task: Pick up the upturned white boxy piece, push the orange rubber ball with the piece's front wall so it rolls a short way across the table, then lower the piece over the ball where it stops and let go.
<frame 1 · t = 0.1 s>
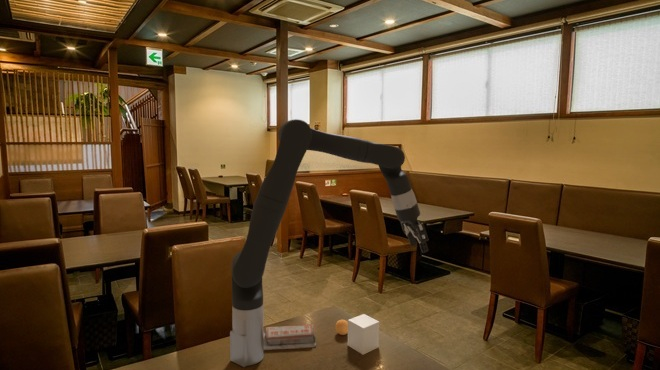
hand: (419, 248, 132), 31 cm above the table, tool tilted 20°, fingers open, 8 cm apart
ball: (342, 327, 137), on the table
white boxy piece: (363, 346, 129), on the table
packaged product: (288, 343, 132), on the table
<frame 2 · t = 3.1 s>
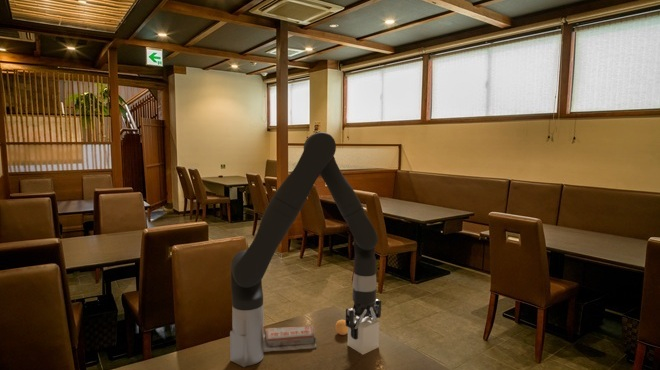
hand: (363, 334, 128), 4 cm above the table, tool pointing down, fingers closed on white boxy piece, 7 cm apart
white boxy piece: (363, 346, 129), on the table, touching gripper
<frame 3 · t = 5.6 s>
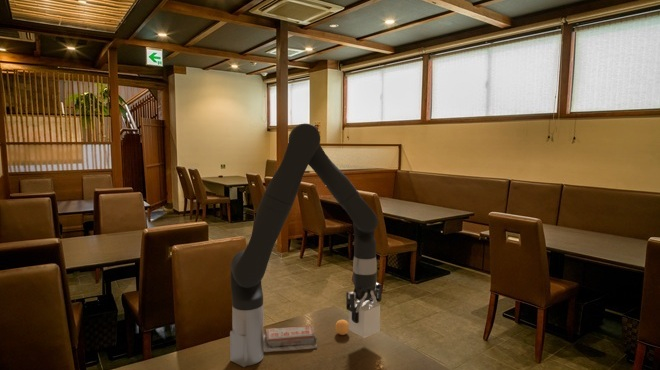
hand: (364, 318, 128), 9 cm above the table, tool pointing down, fingers closed on white boxy piece, 7 cm apart
white boxy piece: (364, 330, 129), point 5 cm above the table, touching gripper
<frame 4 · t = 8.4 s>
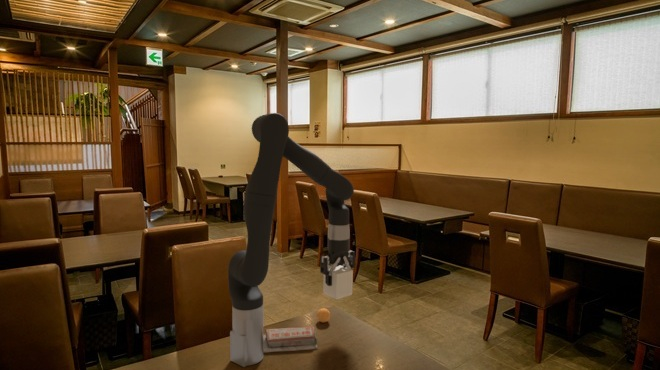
hand: (337, 282, 137), 18 cm above the table, tool pointing down, fingers closed on white boxy piece, 7 cm apart
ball: (323, 315, 145), on the table
white boxy piece: (337, 293, 137), point 14 cm above the table, touching gripper
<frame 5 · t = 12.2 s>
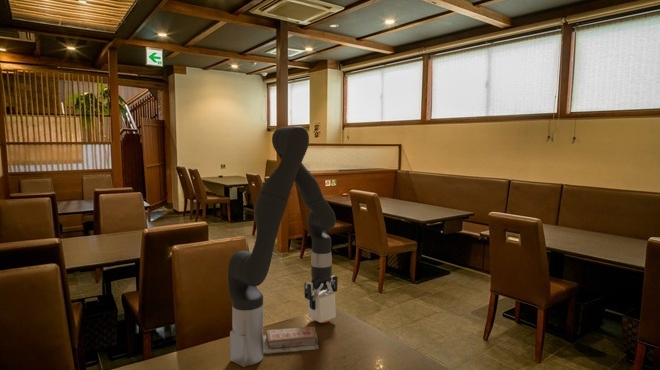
hand: (321, 306, 145), 6 cm above the table, tool pointing down, fingers closed on white boxy piece, 7 cm apart
white boxy piece: (322, 316, 146), point 2 cm above the table, touching gripper
when the fingers open (4 cm above the table, at t = 13.2 s): white boxy piece stays where it is, on the table.
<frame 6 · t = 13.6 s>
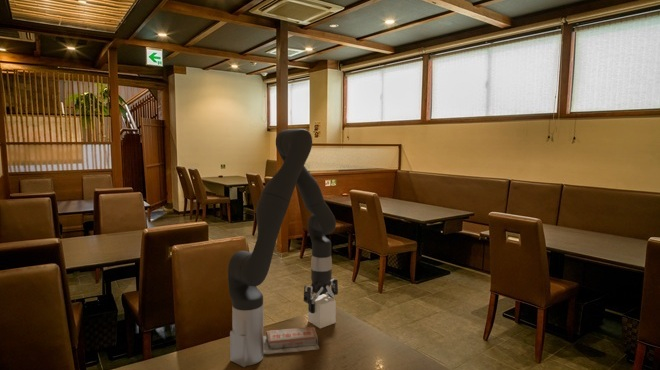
hand: (321, 309, 145), 5 cm above the table, tool pointing down, fingers open, 8 cm apart
white boxy piece: (321, 321, 146), on the table
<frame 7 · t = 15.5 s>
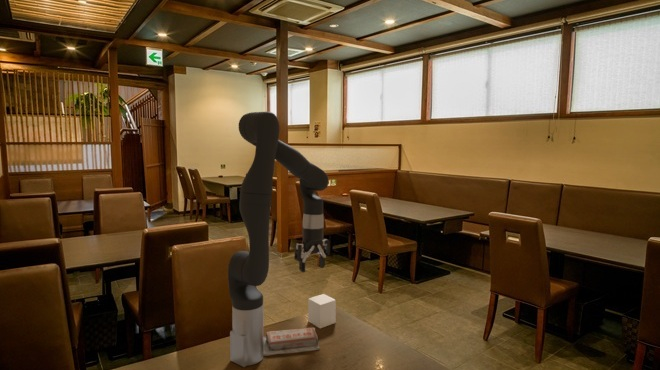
hand: (312, 269, 143), 20 cm above the table, tool pointing down, fingers open, 8 cm apart
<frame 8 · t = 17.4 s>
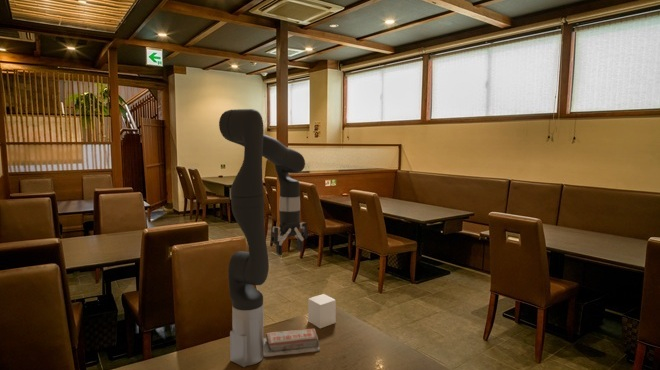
hand: (289, 252, 143), 26 cm above the table, tool pointing down, fingers open, 8 cm apart
at the end: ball 0.8 cm from the white boxy piece (horizontally); white boxy piece on the table; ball moved 10.9 cm from its start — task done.
